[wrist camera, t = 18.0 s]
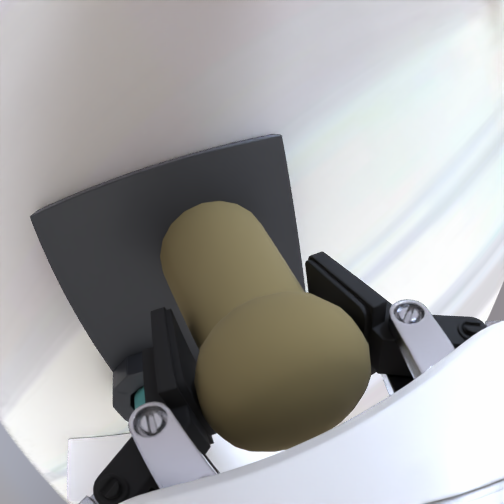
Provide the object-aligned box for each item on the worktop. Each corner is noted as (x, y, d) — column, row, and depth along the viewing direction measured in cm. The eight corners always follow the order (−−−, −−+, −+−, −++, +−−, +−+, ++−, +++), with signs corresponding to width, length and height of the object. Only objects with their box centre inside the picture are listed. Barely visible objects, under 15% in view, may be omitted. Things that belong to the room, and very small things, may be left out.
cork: (200, 320, 17) (263, 487, 8) (137, 244, 15) (136, 434, 5) (284, 264, 18) (409, 394, 8) (234, 178, 15) (387, 273, 5)
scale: (26, 215, 13) (5, 232, 10) (273, 133, 16) (297, 135, 13) (137, 407, 20) (140, 436, 18) (306, 349, 23) (323, 373, 21)
